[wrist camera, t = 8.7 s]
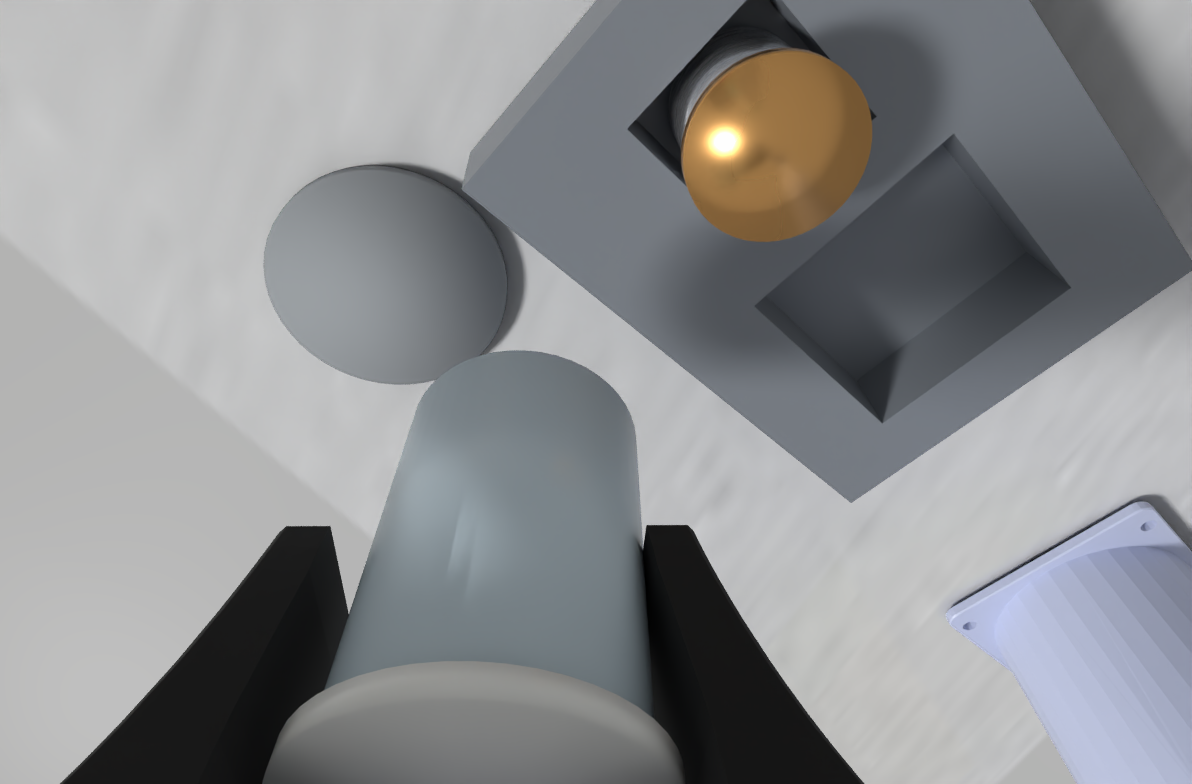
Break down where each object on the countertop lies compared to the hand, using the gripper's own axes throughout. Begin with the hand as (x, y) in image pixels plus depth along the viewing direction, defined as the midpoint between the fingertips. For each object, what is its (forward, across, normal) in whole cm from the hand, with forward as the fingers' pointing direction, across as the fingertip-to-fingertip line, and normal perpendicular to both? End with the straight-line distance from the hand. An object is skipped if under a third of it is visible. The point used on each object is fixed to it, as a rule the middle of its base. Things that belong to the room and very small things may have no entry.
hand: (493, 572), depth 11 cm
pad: (+10, +3, 0) cm, 10 cm away
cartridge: (+3, 0, 0) cm, 3 cm away
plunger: (+9, -5, -5) cm, 11 cm away
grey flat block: (+10, -8, -2) cm, 13 cm away
